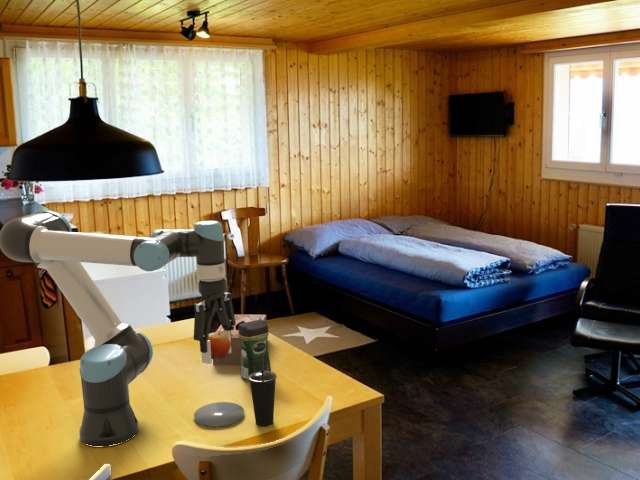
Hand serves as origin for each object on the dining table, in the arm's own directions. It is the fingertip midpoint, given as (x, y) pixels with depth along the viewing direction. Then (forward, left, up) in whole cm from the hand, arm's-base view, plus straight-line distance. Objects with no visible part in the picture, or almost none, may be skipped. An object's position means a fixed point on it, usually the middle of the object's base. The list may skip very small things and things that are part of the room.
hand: (217, 357), depth 186 cm
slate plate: (0, 0, -18) cm, 18 cm away
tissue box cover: (+45, +26, -18) cm, 55 cm away
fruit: (0, 0, 0) cm, 0 cm away
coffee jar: (+29, +8, -18) cm, 35 cm away
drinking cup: (+2, -13, -18) cm, 22 cm away
